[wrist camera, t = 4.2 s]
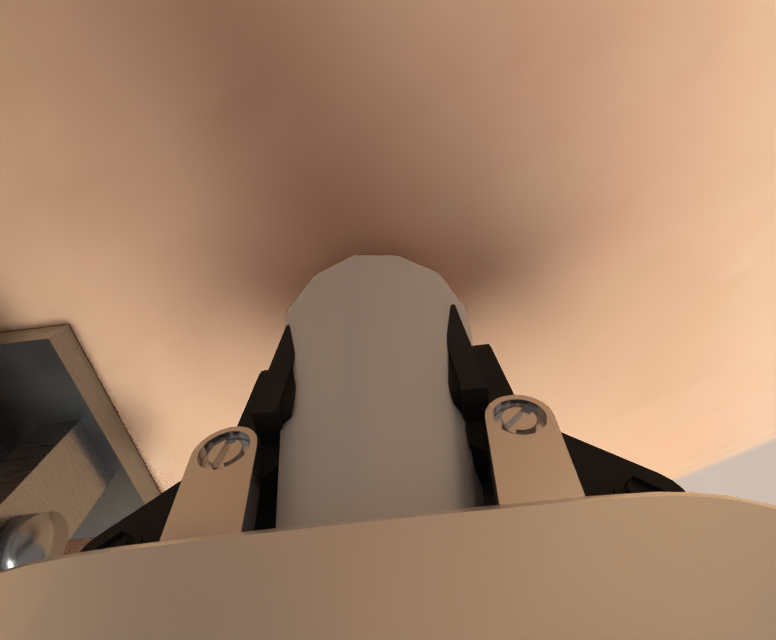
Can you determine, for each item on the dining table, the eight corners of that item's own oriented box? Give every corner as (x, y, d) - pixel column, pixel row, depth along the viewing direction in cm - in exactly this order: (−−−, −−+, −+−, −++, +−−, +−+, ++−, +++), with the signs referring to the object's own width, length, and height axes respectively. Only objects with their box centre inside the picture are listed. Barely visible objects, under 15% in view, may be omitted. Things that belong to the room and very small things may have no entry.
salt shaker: (308, 215, 13) (-150, 971, 2) (477, 251, 14) (981, 954, 2) (288, 365, 16) (56, 1065, 4) (432, 389, 16) (566, 1043, 5)
